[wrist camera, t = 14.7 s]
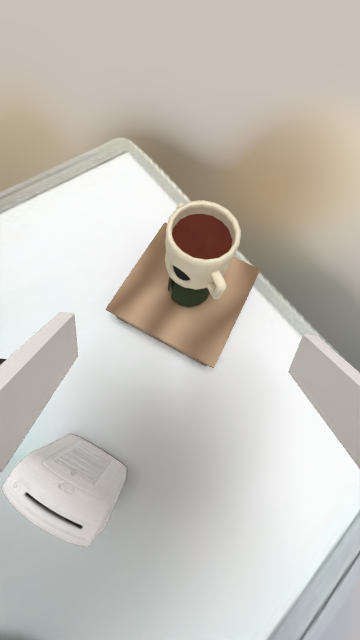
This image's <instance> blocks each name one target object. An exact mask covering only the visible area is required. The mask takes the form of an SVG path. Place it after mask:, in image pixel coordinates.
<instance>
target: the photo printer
mask: <svg viewBox="0 0 360 640" xmlns="http://www.w3.org/2000/svg"><path fill="white" fill-rule="evenodd" d="M126 471H127V468H126V467H125V466H124V465H123V464H122V463H121V462H119V461H118V460H116V459H115V458H113V457H112V456H110V455H109V454H107V453H105V452H104V451H102V450H101V449H99V448H97V447H96V446H94V445H92V444H91V443H89V442H87V441H85V440H84V439H82V438H80V437H78V436H75V435H72V434H69V435H67V436H65V437H63V438H61V439H59V440H57V441H55V442H52V443H50V444H48V445H46V446H44V447H42V448H40V449H38V450H36V451H34V452H32V453H30V454H29V455H28V456H26V457H25V458H24V459H23V460H22V461H21V462H20V463H19V464H18V465H17V466H16V467H15V468H14V469H13V471H12V472H11V475H10V476H9V478H8V479H7V481H6V482H5V483H4V485H3V488H2V490H3V492H4V494H5V496H6V498H7V499H8V501H9V502H10V503H11V504H12V505H13V506H14V507H15V508H16V509H17V510H18V511H19V512H20V513H21V514H22V515H23V516H25V517H26V518H27V519H28V520H30V521H31V522H33V523H34V524H35V525H37V526H39V527H40V528H41V529H43V530H45V531H46V532H48V533H50V534H52V535H54V536H56V537H58V538H60V539H62V540H64V541H67V542H69V543H72V544H75V545H80V546H86V547H89V546H90V544H91V543H92V541H93V538H95V537H96V536H97V535H99V534H100V533H101V531H102V530H103V529H104V527H105V526H106V524H107V522H108V520H109V518H110V515H111V513H112V511H113V508H114V506H115V504H116V502H117V499H118V497H119V495H120V493H121V490H122V488H123V486H124V483H125V481H126Z"/></svg>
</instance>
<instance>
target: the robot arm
mask: <svg viewBox="0 0 360 640" xmlns="http://www.w3.org/2000/svg"><path fill="white" fill-rule="evenodd" d="M77 357H78V349H77V338H76V327H75V316H74V314H73V313H62V312H60V313H58V314H57V315H56V316H55V317H54V318H53V319H52V320H50V321H49V322H48V323H47V324H46V325H45V326H44V327H43V328H41V329H40V330H39V331H38V332H37V333H36V334H35V335H34V336H32V337H31V338H30V339H29V340H28V341H27V342H26V343H25V344H23V345H22V346H21V347H20V348H19V349H18V350H17V351H16V352H14V353H13V354H12V355H11V356H10V357H9V358H8V359H0V472H2V471H3V470H4V468H5V467H6V465H7V464H8V462H9V461H10V459H11V458H12V456H13V455H14V453H15V451H16V450H17V448H18V447H19V445H20V444H21V442H22V441H23V439H24V438H25V436H26V435H27V433H28V432H29V430H30V429H31V427H32V426H33V424H34V422H35V421H36V419H37V418H38V416H39V415H40V413H41V412H42V410H43V409H44V407H45V406H46V404H47V403H48V401H49V400H50V398H51V396H52V395H53V393H54V392H55V390H56V389H57V387H58V386H59V384H60V383H61V381H62V380H63V378H64V377H65V375H66V374H67V372H68V371H69V369H70V367H71V366H72V364H73V363H74V361H75V360H76V358H77ZM288 372H289V373H290V375H291V376H292V377H293V379H294V380H295V382H296V383H297V384H298V386H299V387H300V388H301V390H302V391H303V392H304V394H305V395H306V396H307V398H308V399H309V401H310V402H311V403H312V405H313V406H314V407H315V409H316V410H317V411H318V413H319V414H320V416H321V417H322V418H323V420H324V421H325V422H326V424H327V425H328V426H329V428H330V429H331V430H332V432H333V433H334V435H335V436H336V437H337V439H338V440H339V441H340V443H341V444H342V445H343V447H344V448H345V449H346V451H347V452H348V454H349V455H350V456H351V458H352V459H353V460H354V462H355V463H356V464H357V466H358V467H359V469H360V373H359V372H358V371H357V370H356V369H354V368H353V367H352V366H351V365H350V364H348V363H347V362H346V361H345V360H344V359H343V358H341V357H340V356H339V355H338V354H337V353H336V352H334V351H333V350H332V349H331V348H330V347H328V346H327V345H326V344H325V343H324V342H323V341H321V340H320V339H319V338H318V337H317V336H315V335H304V334H303V337H302V339H301V342H300V344H299V347H298V349H297V352H296V354H295V357H294V359H293V361H292V364H291V366H290V369H289V371H288Z"/></svg>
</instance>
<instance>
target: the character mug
mask: <svg viewBox="0 0 360 640" xmlns="http://www.w3.org/2000/svg"><path fill="white" fill-rule="evenodd" d="M240 235H241V230H240V227H239V224H238V221H237V219H236V218H235V217H234V216H233V215H232V213H231V212H230V211H229V210H228V209H226V208H224V207H223V206H221V205H219V204H217V203H214V202H209V201H204V200H200V201H191V202H187V203H186V204H183V203H179V204H178V205H177V209H176V210H175V211H174V213H173V214H172V215H171V216H170V218H169V221H168V224H167V227H166V240H165V244H166V255H165V263H166V269H167V271H168V274H169V276H170V277H169V281H168V291H169V288H170V285H171V287H172V295H171V298H172V299H173V300H174V301H175V302H176V303H178V304H179V305H182V306H186V307H192V306H197V305H200V304H201V303H203V302H204V301H206V300H207V298H208V296H209V294H211V296H212V297H213V298H214V299H219V298H220V297H221V296H222V294H223V293H224V291H225V290H226V283H225V280H224V278H223V274H224V273H225V271H226V269H227V267H228V265H229V264H230V262H231V260H232V258H233V256H234V254H235V252H236V251H237V249H238V246H239V244H240Z"/></svg>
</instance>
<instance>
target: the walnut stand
mask: <svg viewBox="0 0 360 640" xmlns="http://www.w3.org/2000/svg"><path fill="white" fill-rule="evenodd" d="M166 227H167V223H164V224H163V226H162V227H161V229H160V230H159V232H158V233H157V235H156V236H155V237H154V239H153V240H152V242H151V243H150V245H149V246H148V248H147V249H146V251H145V252H144V254H143V255H142V256H141V258H140V259H139V261H138V262H137V264H136V265H135V267H134V268H133V270H132V271H131V273H130V274H129V276H128V277H127V278H126V280H125V281H124V283H123V284H122V286H121V287H120V289H119V290H118V292H117V293H116V295H115V296H114V297H113V299H112V300H111V302H110V303H109V305H108V306H107V308H106V310H107V311H109V312H111V313H113V314H114V315H116V316H117V318H118V319H120V320H122V321H124V322H126V323H128V324H130V325H131V326H133V327H135V328H137V329H139V330H141V331H142V332H144V333H146V334H148V335H150V336H152V337H153V338H155V339H157V340H159V341H161V342H163V343H165V344H166V345H168V346H170V347H172V348H174V349H176V350H177V351H179V352H181V353H183V354H185V355H187V356H188V357H190V358H192V359H194V360H196V361H198V362H200V363H201V364H203V365H205V366H206V365H209V366H210V367H212V368H214V366H215V364H216V362H217V360H218V358H219V356H220V354H221V351H222V349H223V347H224V345H225V343H226V341H227V339H228V337H229V335H230V332H231V330H232V328H233V326H234V324H235V322H236V320H237V318H238V316H239V313H240V311H241V309H242V307H243V305H244V303H245V301H246V299H247V297H248V294H249V292H250V290H251V288H252V286H253V284H254V282H255V280H256V278H257V276H258V273H259V271H260V270H259V269H257V268H255V267H253V266H251V265H249V264H247V263H245V262H243V261H241V260H239V259H237V258H235V257H233V258H232V260H231V262H230V264H229V265H228V267H227V269H226V271H225V273H224V274H223V278H224V280H225V283H226V290H225V291H224V293H223V294H222V296H221V297H220V298H219V299H214V298H213V297H212V296H211V294H209V296H208V298H207V300H206V301H204V302H203V303H201V304H200V305H197V306H192V307H186V306H182V305H179V304H178V303H176V302H175V301H174V300H173V299H172V298H171V295H172V287H171V285H170V288H169V291H168V281H169V277H170V276H169V274H168V271H167V269H166V263H165V255H166V244H165V240H166Z"/></svg>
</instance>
